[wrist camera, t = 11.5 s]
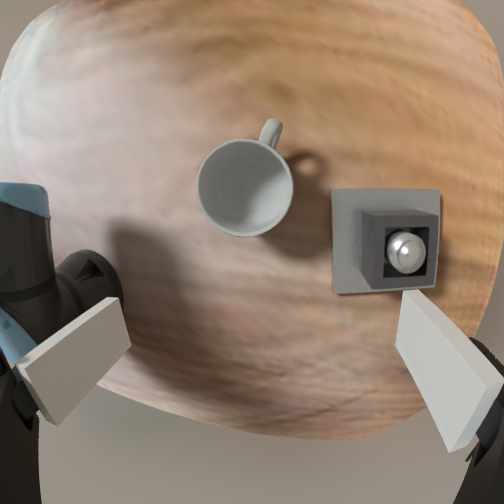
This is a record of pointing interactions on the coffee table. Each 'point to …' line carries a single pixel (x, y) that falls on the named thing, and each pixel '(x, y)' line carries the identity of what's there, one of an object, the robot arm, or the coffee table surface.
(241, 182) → the teacup
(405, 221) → the grey square hollow block
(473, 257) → the coffee table surface
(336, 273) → the grey plate with post
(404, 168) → the coffee table surface
